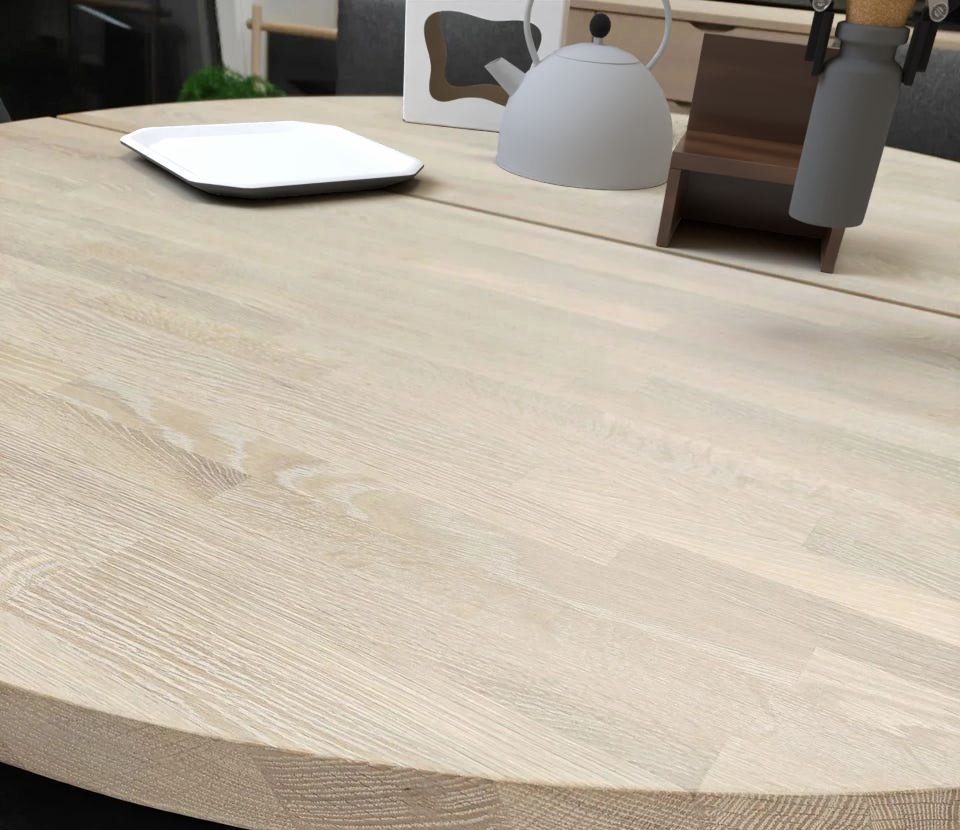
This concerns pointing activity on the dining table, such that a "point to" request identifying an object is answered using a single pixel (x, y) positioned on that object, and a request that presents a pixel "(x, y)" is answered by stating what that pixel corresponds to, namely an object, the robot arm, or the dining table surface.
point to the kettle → (586, 114)
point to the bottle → (851, 115)
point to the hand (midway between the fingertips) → (860, 75)
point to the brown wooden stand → (746, 141)
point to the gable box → (428, 57)
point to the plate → (272, 158)
